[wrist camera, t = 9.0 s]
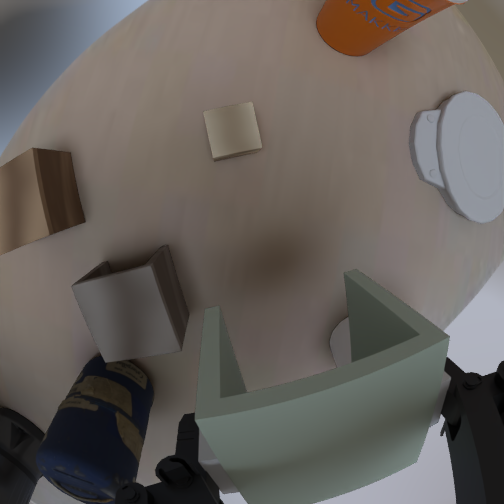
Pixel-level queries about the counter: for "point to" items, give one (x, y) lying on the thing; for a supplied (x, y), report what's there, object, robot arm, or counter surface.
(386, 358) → the cover green
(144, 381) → the canister
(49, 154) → the cover walnut
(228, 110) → the maple cube
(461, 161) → the lid
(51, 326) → the counter surface
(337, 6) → the shaker bottle
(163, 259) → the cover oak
